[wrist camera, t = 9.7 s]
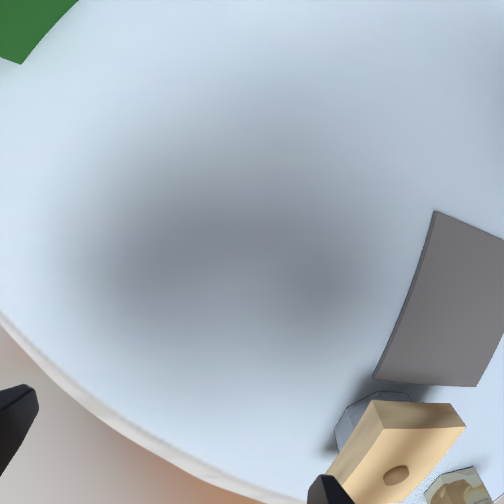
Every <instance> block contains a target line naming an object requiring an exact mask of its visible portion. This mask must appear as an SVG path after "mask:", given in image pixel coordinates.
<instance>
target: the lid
mask: <svg viewBox="0 0 504 504" xmlns="http://www.w3.org/2000/svg"><path fill="white" fill-rule="evenodd" d="M465 427H466V425H465V424H464V422H463V421H462V419H461V418H460V417H459V415H458V414H457V412H456V411H455V410H454V408H453V407H452V405H451V404H450V403H414V402H395V401H382V400H371V402H370V403H369V405H368V407H367V409H366V411H365V412H364V414H363V416H362V417H361V419H360V421H359V423H358V424H357V426H356V427H355V429H354V431H353V432H352V434H351V436H350V437H349V439H348V440H347V442H346V443H345V445H344V447H343V448H342V450H341V451H340V453H339V454H338V456H337V457H336V459H335V460H334V462H333V463H332V464H331V466H330V467H329V469H328V470H327V472H326V473H325V475H333V476H334V477H335V478H336V480H337V481H338V482H339V483H340V485H341V486H342V487H343V489H344V490H345V491H346V492H347V494H348V495H349V496H350V497H351V499H352V500H353V501H354V502H355V504H389V503H398V502H402V501H403V500H404V499H405V498H406V497H407V496H408V495H409V494H410V493H411V492H412V491H413V490H414V489H415V488H416V487H417V486H418V485H419V484H420V483H421V482H422V481H423V480H424V479H425V477H426V476H427V475H428V474H429V473H430V472H431V471H432V470H433V468H434V467H435V466H436V465H437V464H438V462H439V461H440V460H441V459H442V458H443V456H444V455H445V454H446V453H447V451H448V450H449V449H450V448H451V446H452V445H453V444H454V442H455V441H456V440H457V438H458V437H459V436H460V434H461V433H462V432H463V430H464V429H465Z"/></svg>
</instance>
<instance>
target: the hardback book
mask: <svg viewBox="0 0 504 504" xmlns="http://www.w3.org/2000/svg"><path fill="white" fill-rule="evenodd" d="M77 1H78V0H0V57H2V58H4V59H7V60H10V61H13V62H15V63H18V64H22V63H23V62H24V60H25V59H26V58H27V56H28V55H29V54H30V53H31V51H32V50H33V49H34V48H35V46H36V45H37V44H38V43H39V42H40V40H41V39H42V38H43V37H44V36H45V35H46V33H47V32H48V31H49V30H50V29H51V28H52V27H53V26H54V25H55V23H56V22H57V21H58V20H59V19H60V18H61V17H62V16H63V15H64V14H65V13H66V12H67V11H68V10H69V9H70V8H71V7H72V6H73V5H74V4H75V3H76V2H77Z"/></svg>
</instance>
